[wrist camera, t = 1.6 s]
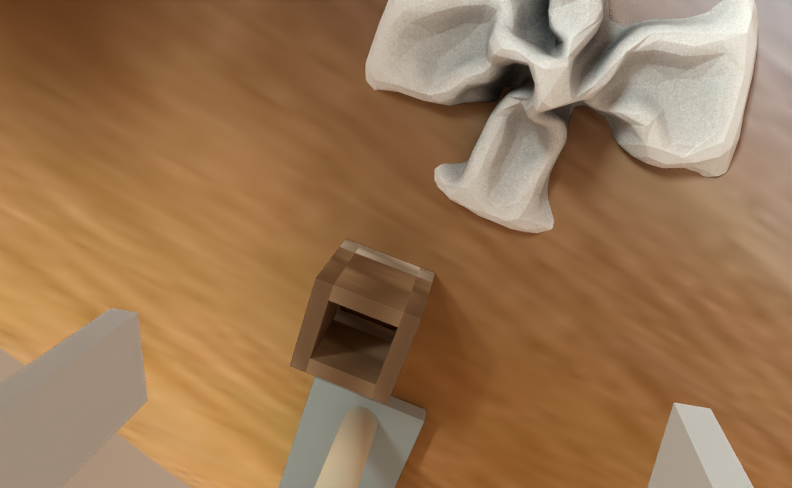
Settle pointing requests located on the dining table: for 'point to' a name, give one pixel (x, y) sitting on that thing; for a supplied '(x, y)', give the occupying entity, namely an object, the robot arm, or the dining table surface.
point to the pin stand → (351, 440)
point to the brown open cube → (362, 320)
